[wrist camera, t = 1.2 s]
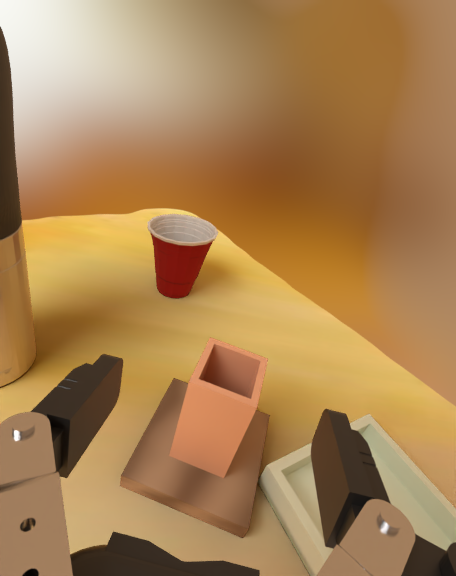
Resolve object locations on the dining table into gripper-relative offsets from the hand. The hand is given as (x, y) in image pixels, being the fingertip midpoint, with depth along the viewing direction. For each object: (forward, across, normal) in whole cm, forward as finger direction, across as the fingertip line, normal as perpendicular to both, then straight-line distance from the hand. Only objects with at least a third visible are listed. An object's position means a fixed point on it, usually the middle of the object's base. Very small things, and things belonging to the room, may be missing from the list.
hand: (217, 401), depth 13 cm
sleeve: (+16, 0, +18) cm, 24 cm away
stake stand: (+17, 0, +20) cm, 26 cm away
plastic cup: (+42, +12, +13) cm, 46 cm away
